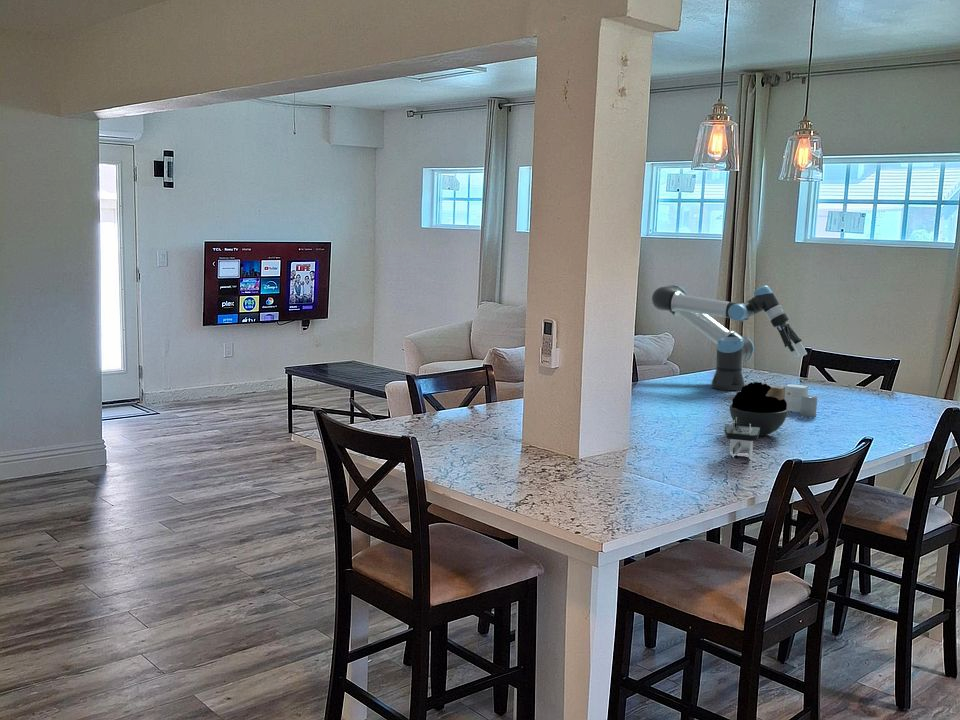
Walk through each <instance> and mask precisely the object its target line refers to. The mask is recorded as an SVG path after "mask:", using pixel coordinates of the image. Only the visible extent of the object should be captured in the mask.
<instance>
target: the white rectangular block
mask: <svg viewBox="0 0 960 720" xmlns="http://www.w3.org/2000/svg"><path fill="white" fill-rule="evenodd" d="M817 407H818V396H817V395H816V396H815V395H803V396H801V410H800V415H799V416H800V417H801V416H803V417H802V418H805V417H816V418H817V409H818V408H817Z"/></svg>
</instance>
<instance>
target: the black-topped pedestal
mask: <svg viewBox="0 0 960 720" xmlns="http://www.w3.org/2000/svg"><path fill="white" fill-rule="evenodd" d="M737 424H739V425H740V423H737V417H736V419H735V420H734V421H733V422H732V424H725V425H724V435H725V437H726V439H729V452H730V451H731V452H733V454H738V453H748V454H749V457H748V460H749V459H750V458H751V456H752V457H753V451H754V450H753V448H754V447H753V446H754V442H756V441H757V440H758V439H759V434H760V428H759V427H751V424H745V425H750V426H749V427H748V426H743V425H744V424H743V425H742V424H741V426H738V425H737Z"/></svg>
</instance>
